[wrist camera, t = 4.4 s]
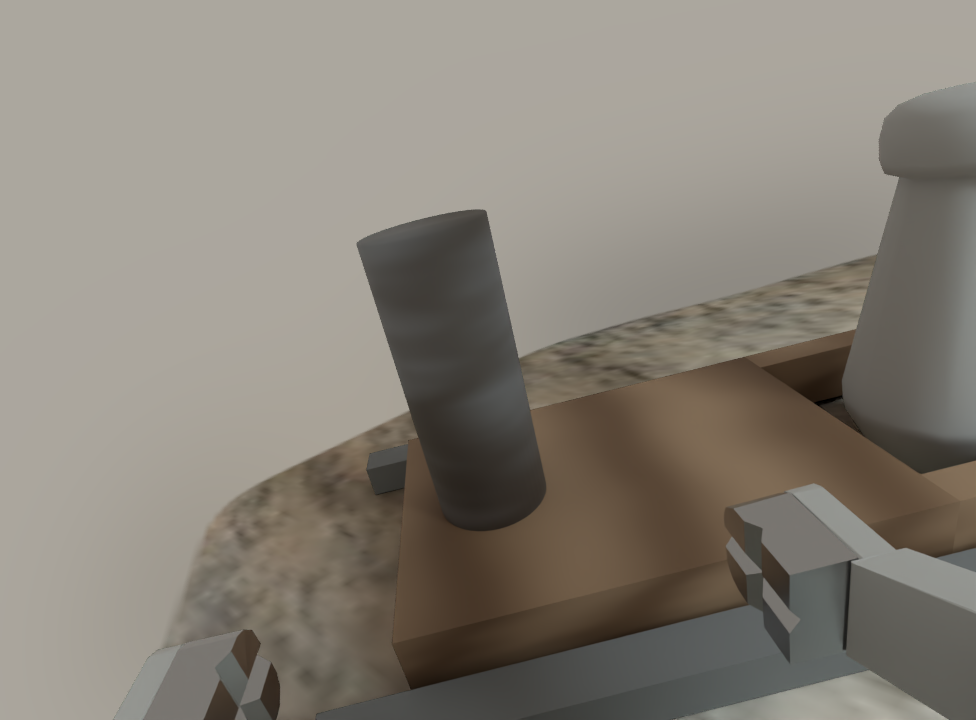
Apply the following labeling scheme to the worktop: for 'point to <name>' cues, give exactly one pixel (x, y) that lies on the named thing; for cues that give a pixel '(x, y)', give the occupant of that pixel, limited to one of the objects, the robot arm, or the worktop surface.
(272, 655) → the worktop surface
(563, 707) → the rails
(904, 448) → the salt shaker
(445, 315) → the wooden tray on runners
